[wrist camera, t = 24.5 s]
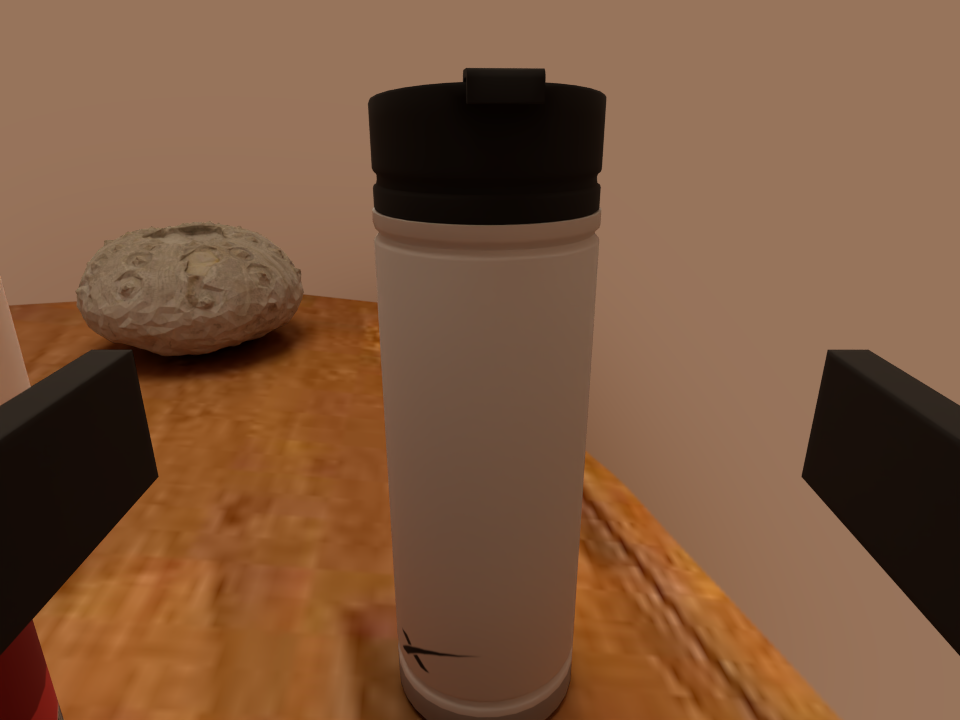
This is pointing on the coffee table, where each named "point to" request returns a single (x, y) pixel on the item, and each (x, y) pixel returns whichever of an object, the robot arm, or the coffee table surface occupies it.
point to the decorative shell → (188, 288)
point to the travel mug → (486, 378)
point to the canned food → (26, 681)
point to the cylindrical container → (10, 355)
